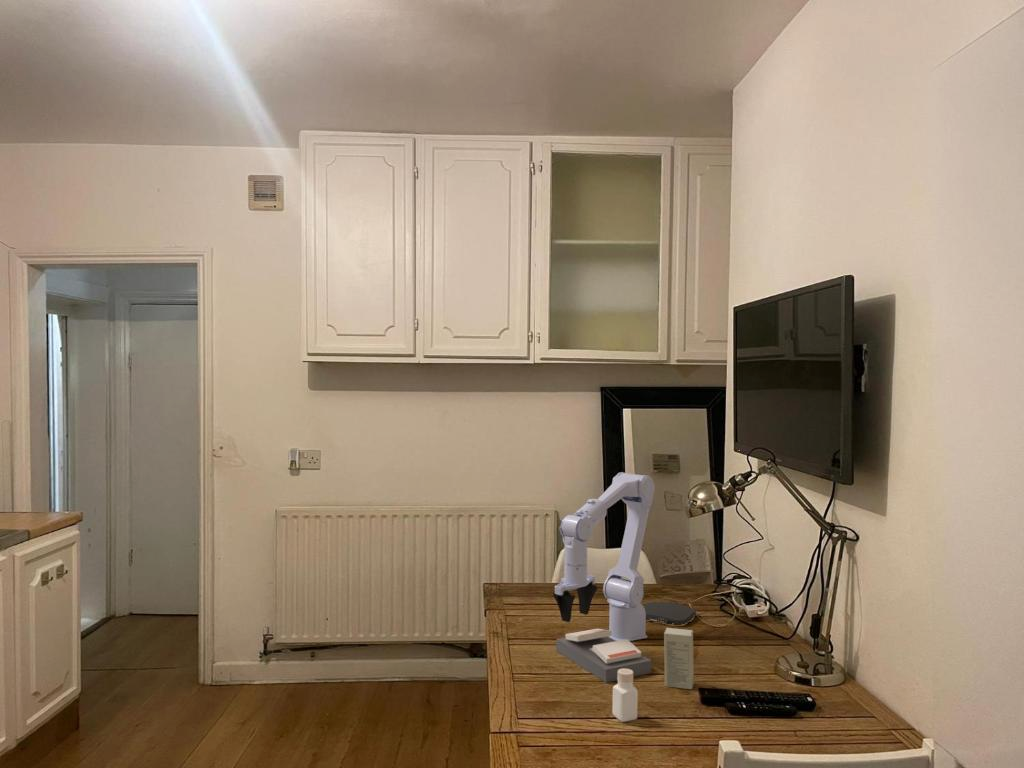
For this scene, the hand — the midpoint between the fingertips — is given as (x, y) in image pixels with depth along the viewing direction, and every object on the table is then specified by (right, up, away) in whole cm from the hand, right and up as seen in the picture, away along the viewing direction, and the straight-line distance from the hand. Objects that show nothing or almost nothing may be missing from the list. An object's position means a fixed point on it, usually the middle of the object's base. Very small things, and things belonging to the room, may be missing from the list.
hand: (575, 617), depth 183 cm
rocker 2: (+9, -6, -9) cm, 14 cm away
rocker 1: (+4, -6, +1) cm, 7 cm away
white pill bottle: (+7, -10, -34) cm, 36 cm away
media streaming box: (+30, -11, +31) cm, 44 cm away
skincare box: (+22, -10, -17) cm, 30 cm away
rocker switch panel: (+6, -10, -4) cm, 12 cm away
